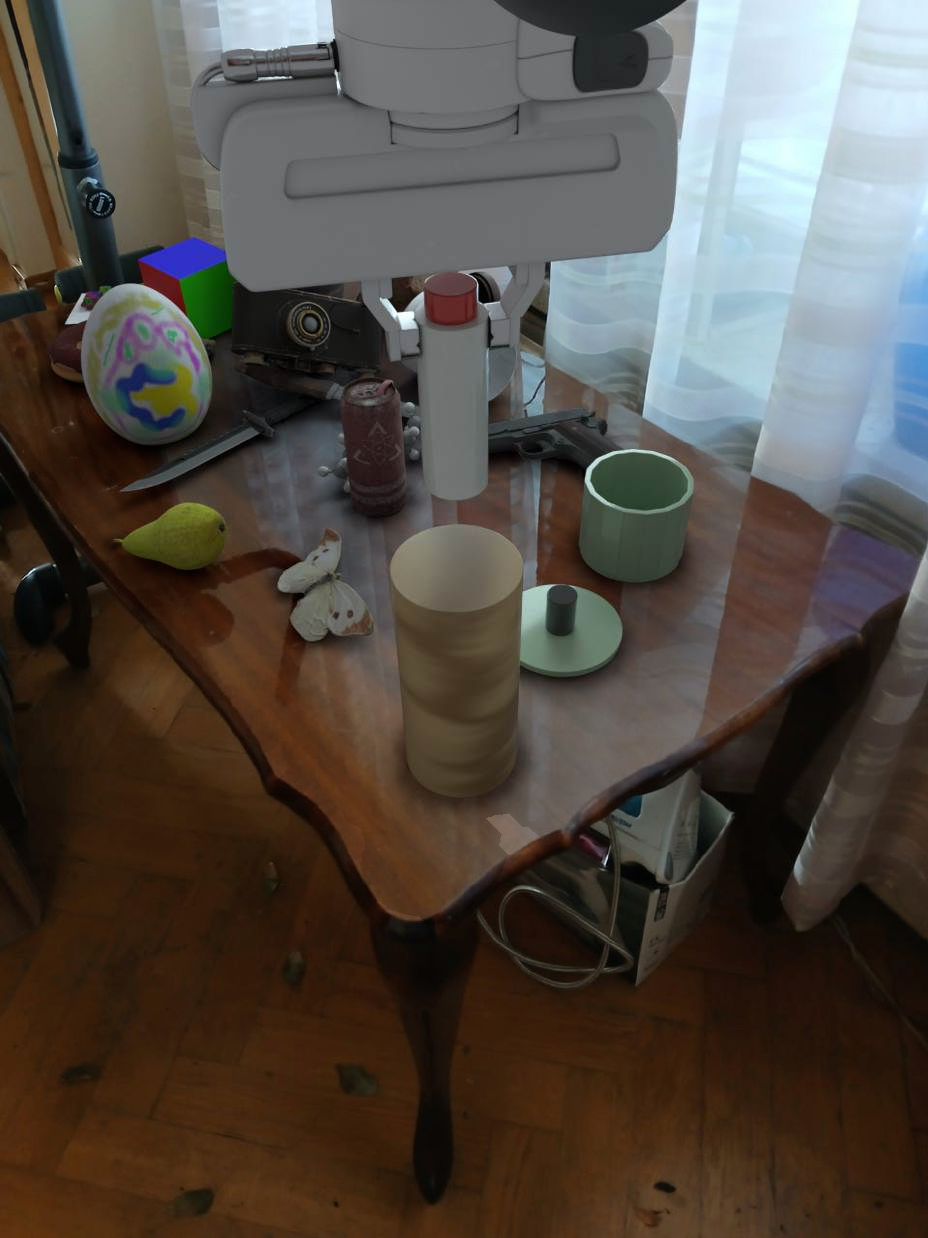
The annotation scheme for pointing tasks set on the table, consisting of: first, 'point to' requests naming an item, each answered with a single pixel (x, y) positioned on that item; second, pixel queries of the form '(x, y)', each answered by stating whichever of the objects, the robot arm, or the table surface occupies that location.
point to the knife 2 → (300, 383)
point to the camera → (305, 331)
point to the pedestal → (458, 656)
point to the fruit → (180, 537)
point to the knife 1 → (224, 442)
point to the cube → (193, 283)
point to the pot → (635, 515)
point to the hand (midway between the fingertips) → (453, 349)
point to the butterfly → (325, 595)
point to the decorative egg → (145, 366)
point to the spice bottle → (453, 386)
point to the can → (374, 445)
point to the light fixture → (499, 359)
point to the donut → (68, 353)
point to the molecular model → (408, 441)
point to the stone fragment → (406, 290)
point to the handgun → (554, 436)
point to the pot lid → (567, 631)
